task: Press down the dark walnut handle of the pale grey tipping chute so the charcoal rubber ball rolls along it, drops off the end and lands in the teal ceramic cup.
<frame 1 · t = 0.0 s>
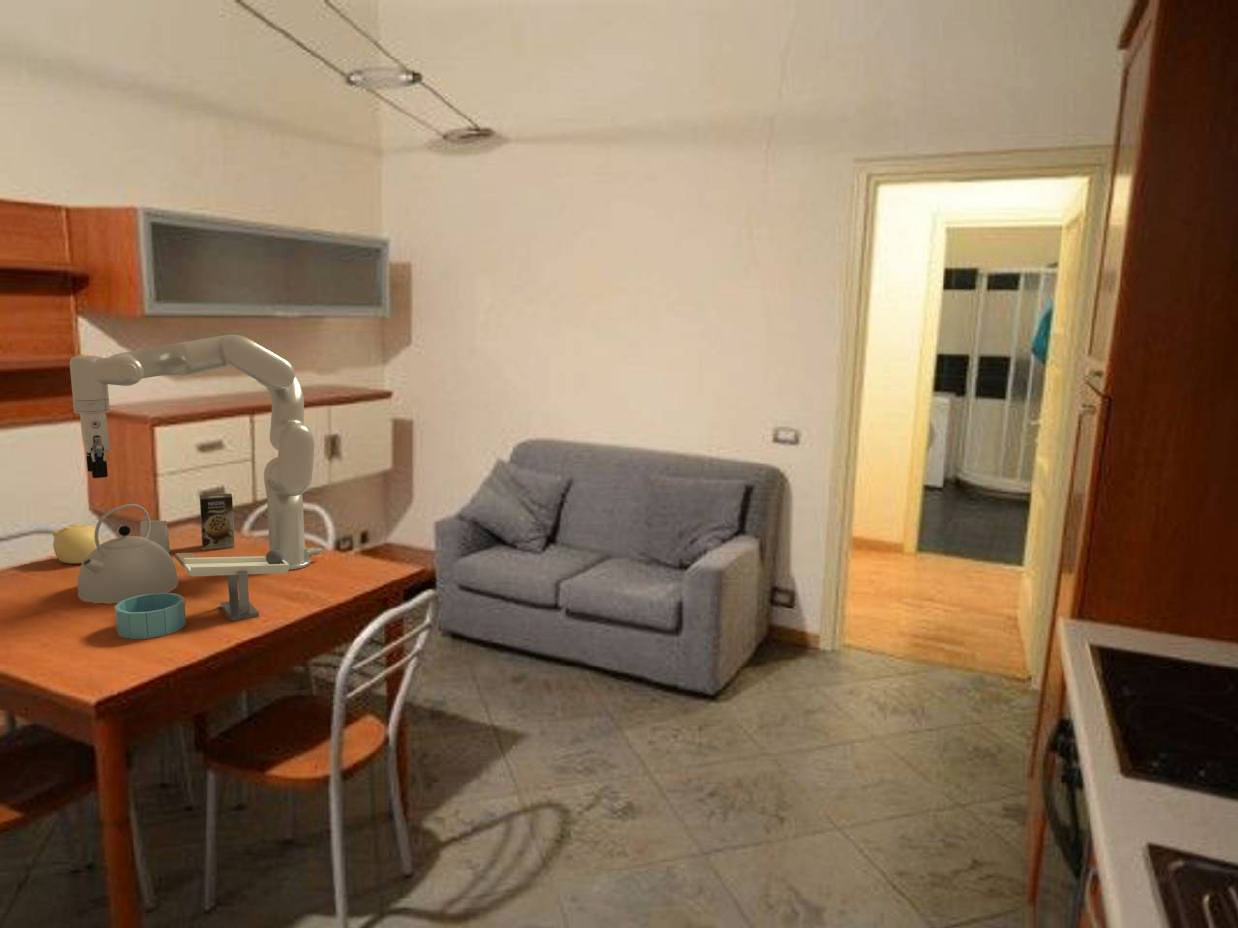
hand: (97, 474, 208), 31 cm above the table, tool pointing down, fingers open, 9 cm apart
tea bag: (155, 554, 248), on the table
yellow rounded piece: (79, 561, 239), on the table
kettle: (126, 591, 216), on the table
lever stand: (239, 611, 204), on the table
lever: (232, 563, 205), point 11 cm above the table, hinge at -8.0°, touching ball
ball: (274, 557, 207), point 12 cm above the table, tilted 18°, touching lever
cup: (151, 627, 192), on the table
dark cardboard box: (218, 547, 257), on the table
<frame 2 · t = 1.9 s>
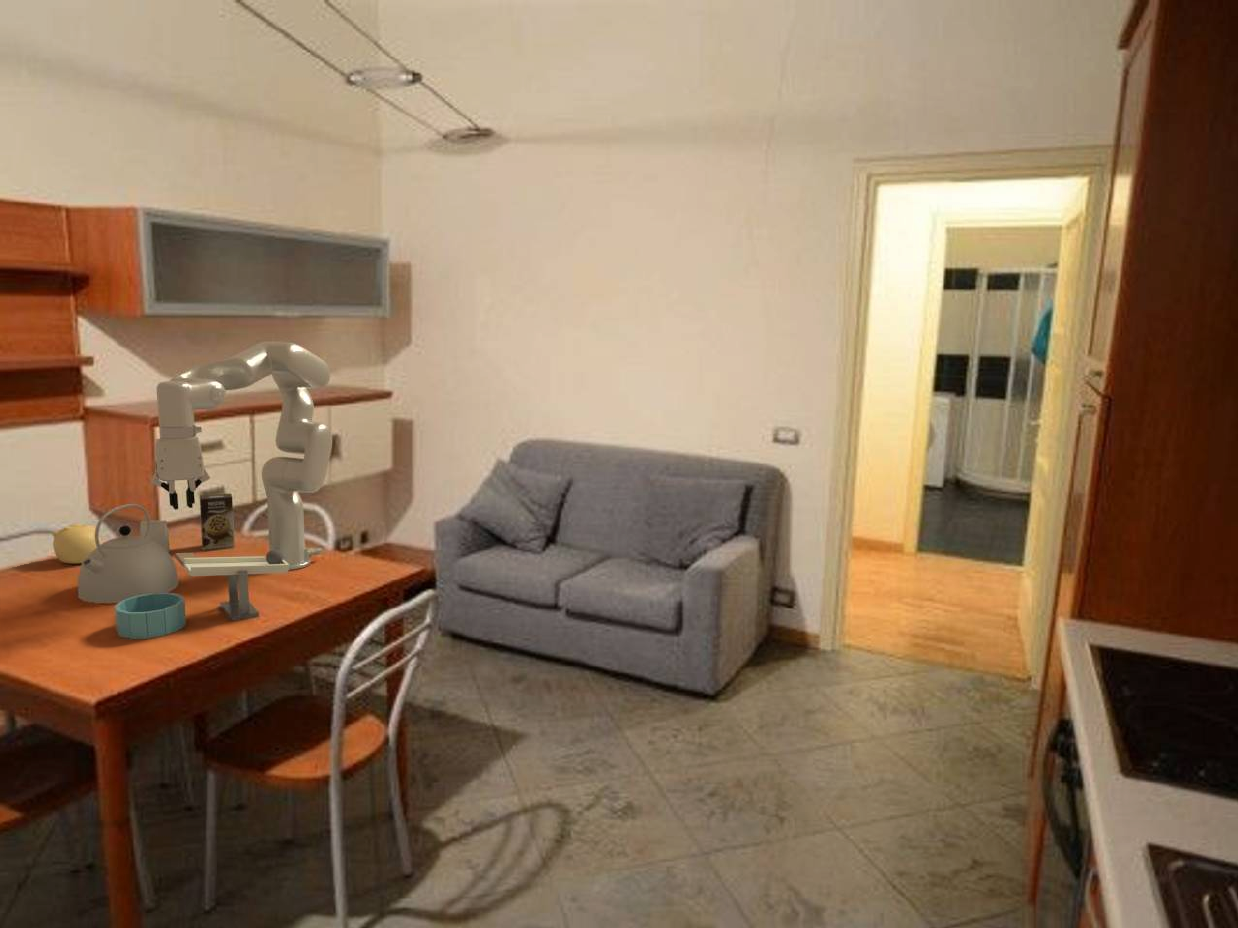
hand: (182, 507, 202), 25 cm above the table, tool pointing down, fingers closed
nothing on the table moved.
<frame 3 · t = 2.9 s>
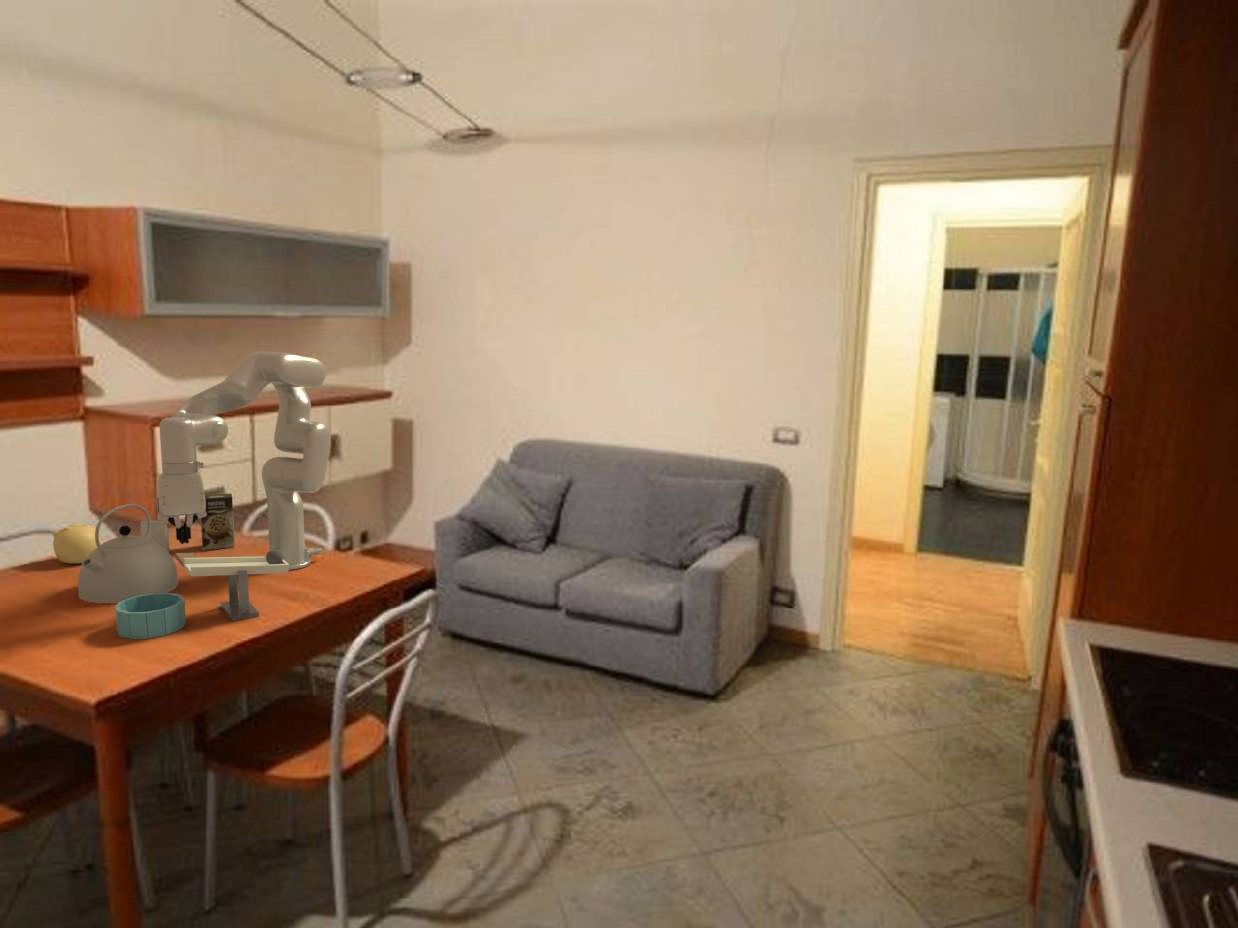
hand: (183, 542, 203), 16 cm above the table, tool pointing down, fingers closed
nothing on the table moved.
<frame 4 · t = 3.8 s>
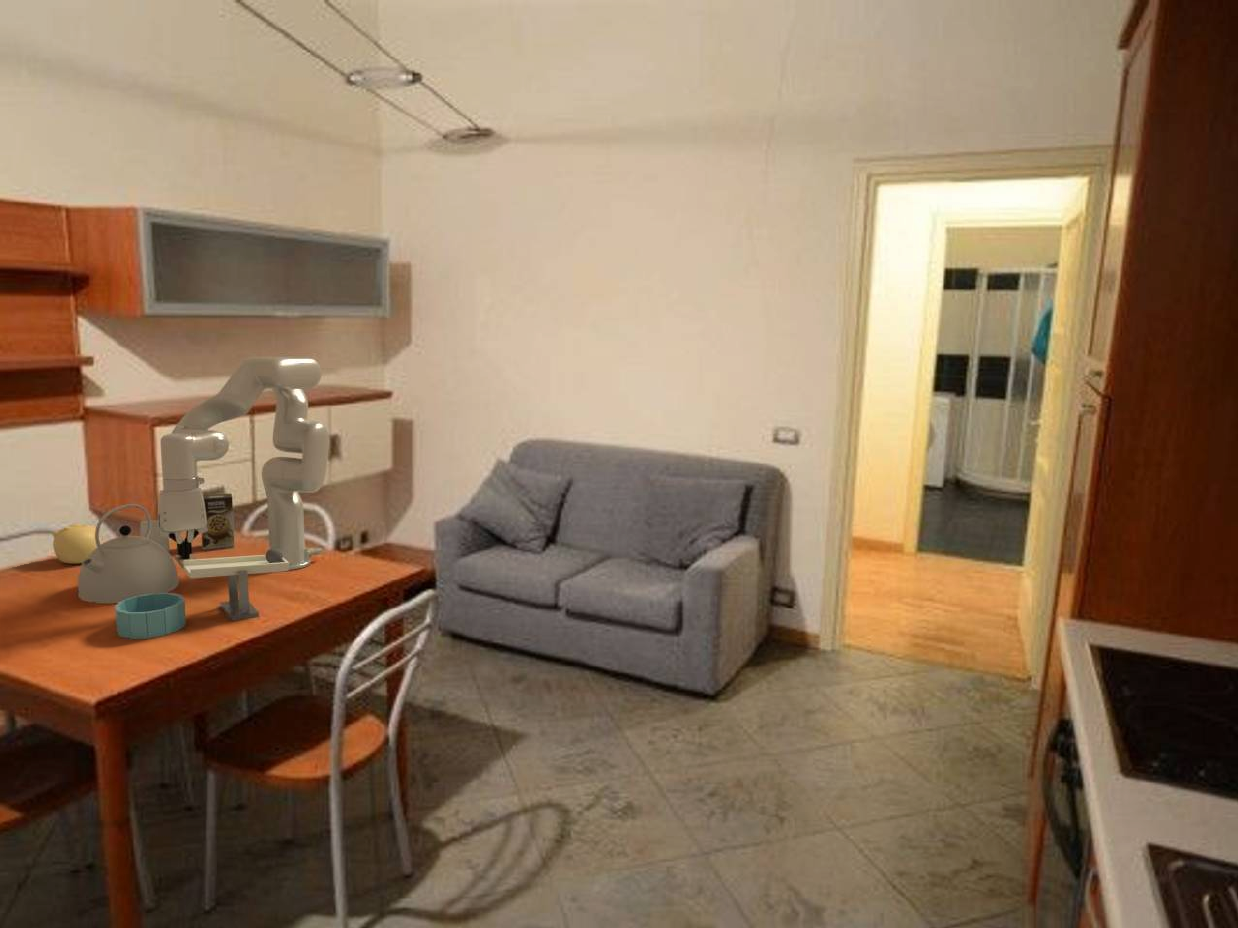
hand: (184, 557, 204), 12 cm above the table, tool pointing down, fingers closed
lever: (232, 563, 205), point 11 cm above the table, hinge at -5.2°, touching ball, gripper
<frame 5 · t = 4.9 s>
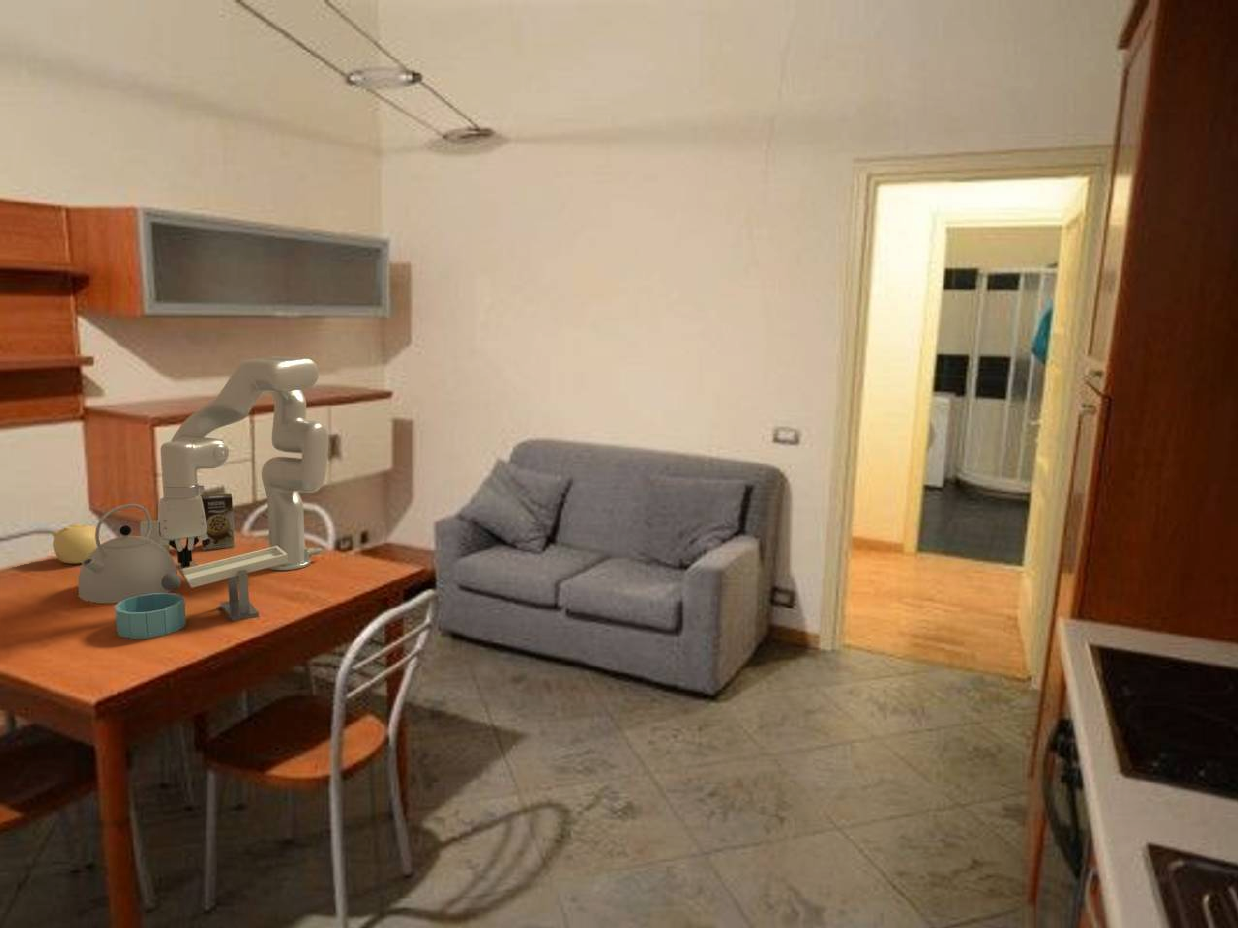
hand: (185, 564, 204), 11 cm above the table, tool pointing down, fingers closed
lever: (232, 563, 205), point 11 cm above the table, hinge at 6.4°, touching gripper
ball: (171, 581, 193), point 10 cm above the table, tilted 71°
everything else where it was.
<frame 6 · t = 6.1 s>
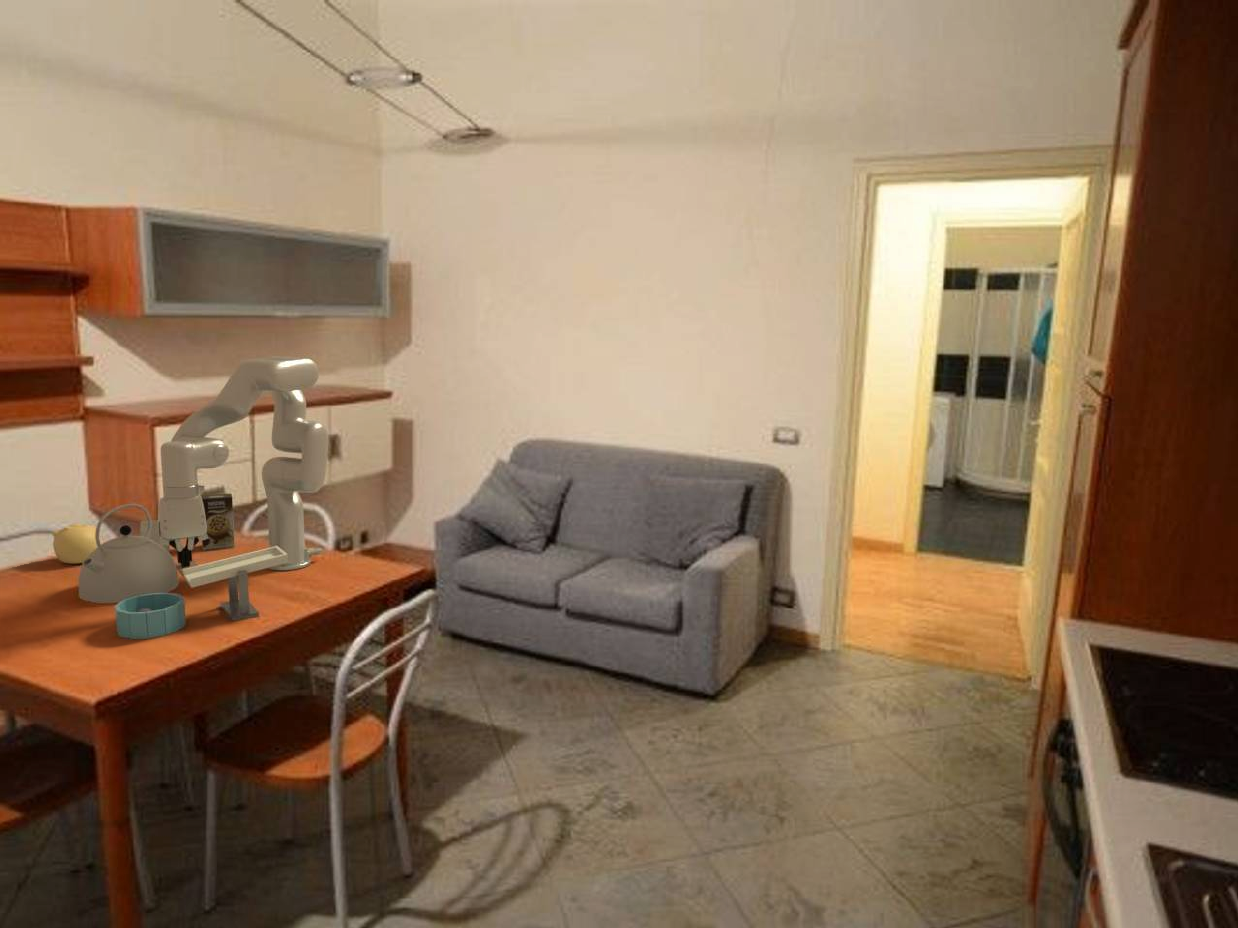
hand: (185, 564, 204), 11 cm above the table, tool pointing down, fingers closed
ball: (144, 617, 191), point 3 cm above the table, tilted 152°, touching cup
everything else where it was.
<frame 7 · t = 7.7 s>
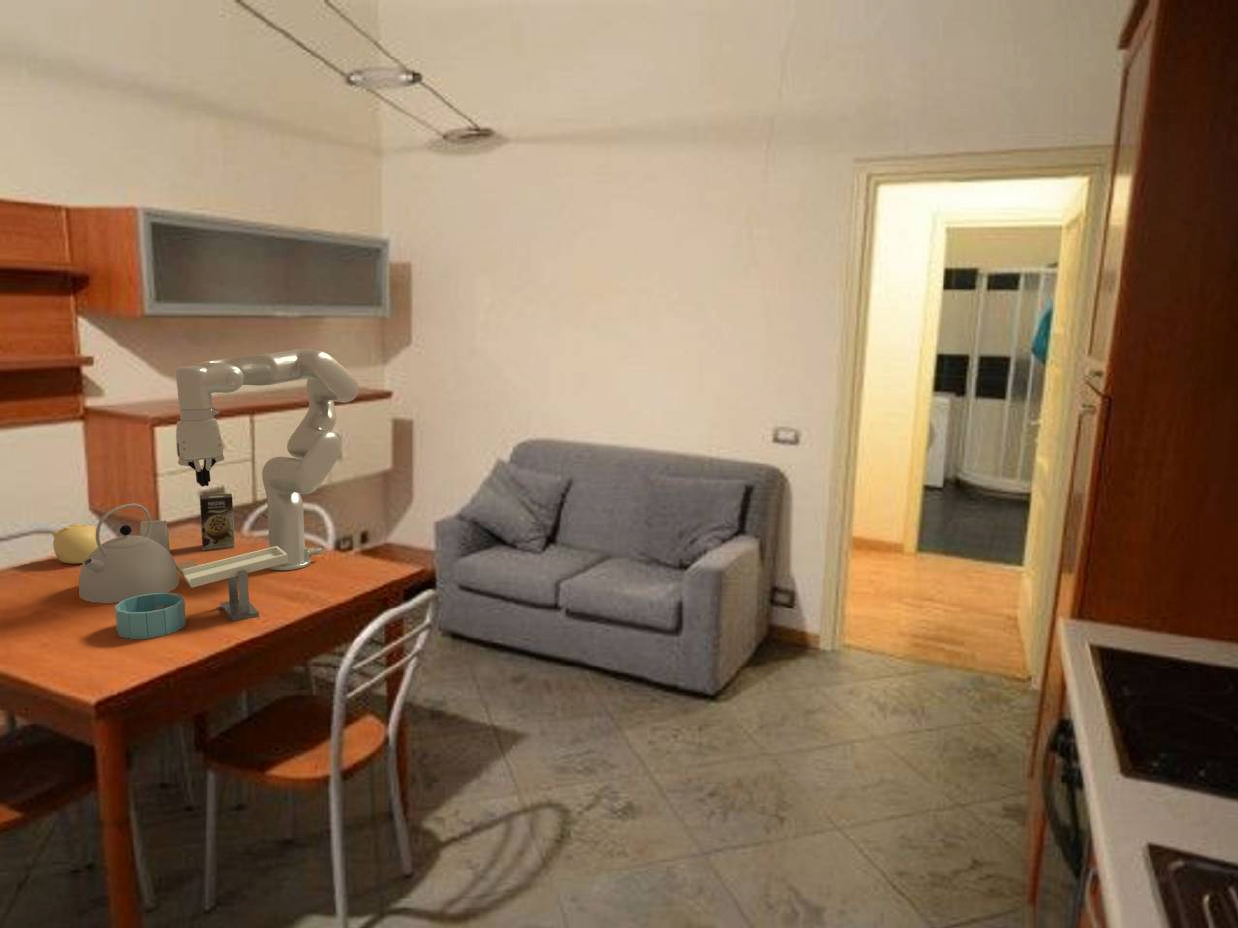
hand: (203, 485, 214), 28 cm above the table, tool pointing down, fingers closed
lever: (232, 563, 205), point 11 cm above the table, hinge at 6.4°
ball: (161, 614, 193), point 3 cm above the table, tilted 52°, touching cup
everything else where it was.
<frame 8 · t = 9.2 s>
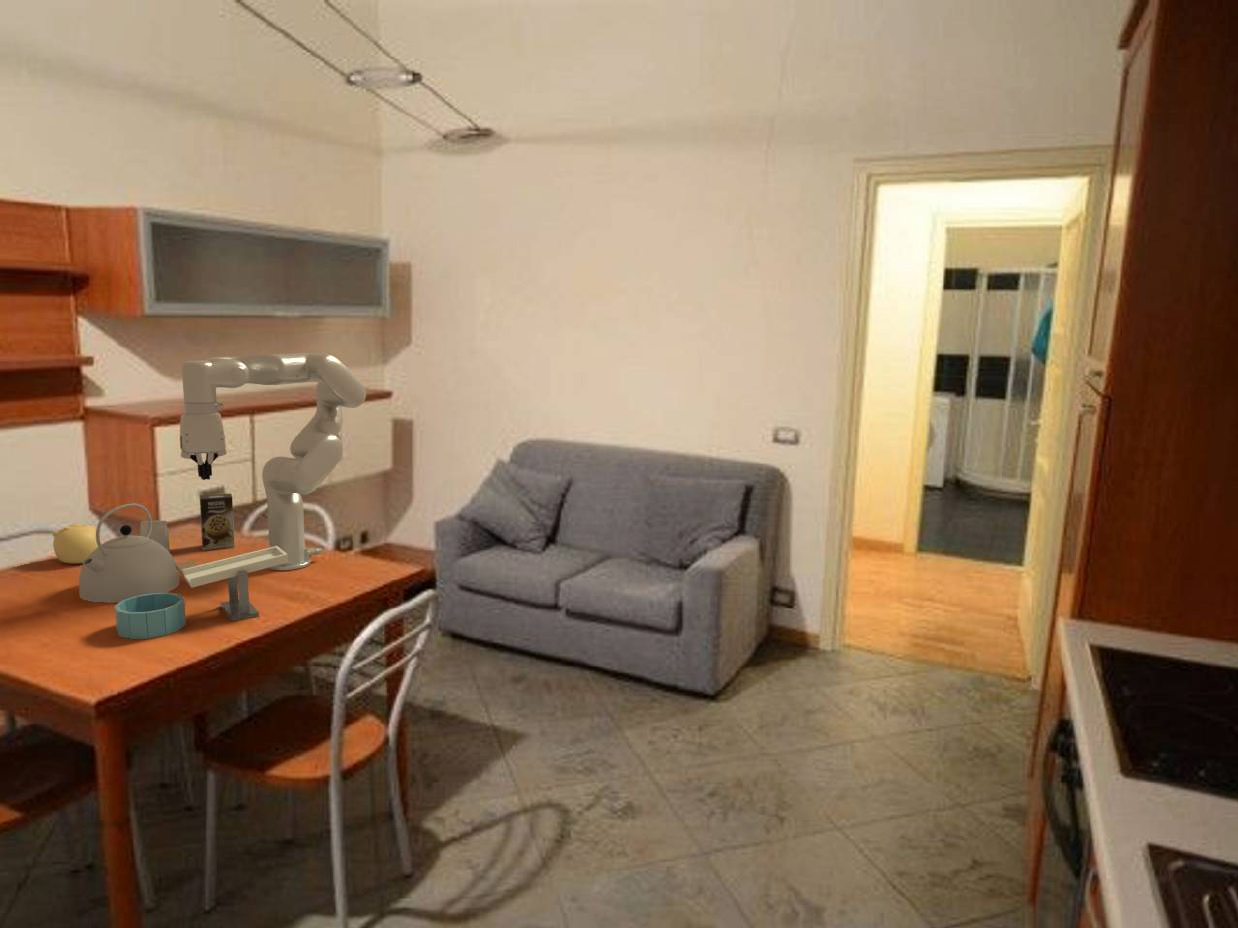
hand: (205, 478, 216), 29 cm above the table, tool pointing down, fingers closed
ball: (170, 612, 194), point 3 cm above the table, touching cup
everything else where it was.
at the end: ball inside the target area on the cup (4.0 cm from its centre), point 2.8 cm above the cup's base; lever at +6° (first picture: -8°) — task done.
